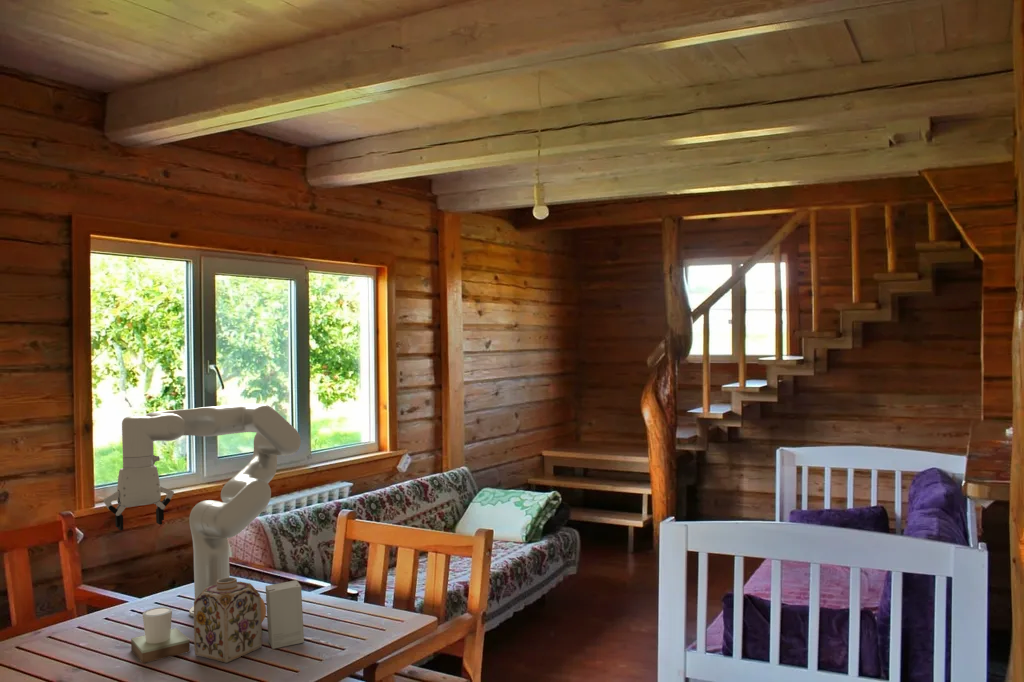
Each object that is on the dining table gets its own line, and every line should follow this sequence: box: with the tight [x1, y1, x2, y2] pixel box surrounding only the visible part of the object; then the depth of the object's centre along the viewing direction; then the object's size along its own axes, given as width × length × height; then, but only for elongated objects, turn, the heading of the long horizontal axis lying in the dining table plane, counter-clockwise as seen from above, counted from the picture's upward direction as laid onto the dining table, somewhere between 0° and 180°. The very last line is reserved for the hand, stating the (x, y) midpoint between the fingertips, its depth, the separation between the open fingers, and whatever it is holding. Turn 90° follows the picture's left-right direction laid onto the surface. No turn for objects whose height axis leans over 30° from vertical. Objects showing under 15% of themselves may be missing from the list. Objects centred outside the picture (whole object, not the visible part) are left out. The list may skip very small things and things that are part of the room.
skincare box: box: [265, 579, 305, 650], centre depth 208 cm, size 8×6×15 cm
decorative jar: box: [193, 577, 263, 664], centre depth 203 cm, size 12×12×18 cm
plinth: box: [130, 627, 191, 664], centre depth 204 cm, size 11×11×3 cm
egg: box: [260, 596, 267, 624], centre depth 220 cm, size 7×7×9 cm
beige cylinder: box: [142, 606, 173, 643], centre depth 204 cm, size 7×7×7 cm
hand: (140, 526), depth 218 cm, fingers open, 9 cm apart
